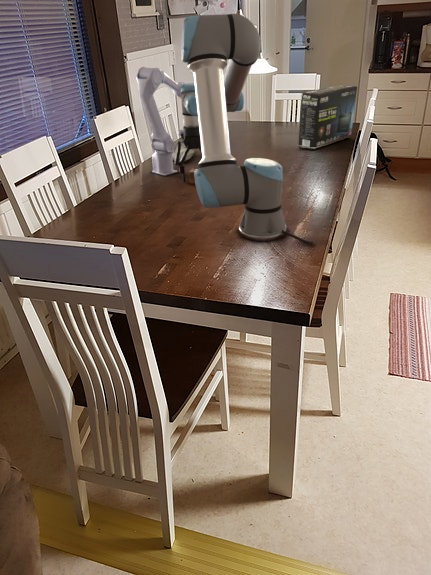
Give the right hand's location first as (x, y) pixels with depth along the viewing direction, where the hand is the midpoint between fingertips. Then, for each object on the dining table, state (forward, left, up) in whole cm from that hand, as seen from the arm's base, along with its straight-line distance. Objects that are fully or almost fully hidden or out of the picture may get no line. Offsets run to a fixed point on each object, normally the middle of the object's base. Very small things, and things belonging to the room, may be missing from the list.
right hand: (195, 179), depth 197 cm
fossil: (+28, -28, -1) cm, 39 cm away
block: (0, 0, -1) cm, 1 cm away
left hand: (+15, -24, +6) cm, 29 cm away
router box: (-30, -83, -1) cm, 88 cm away
